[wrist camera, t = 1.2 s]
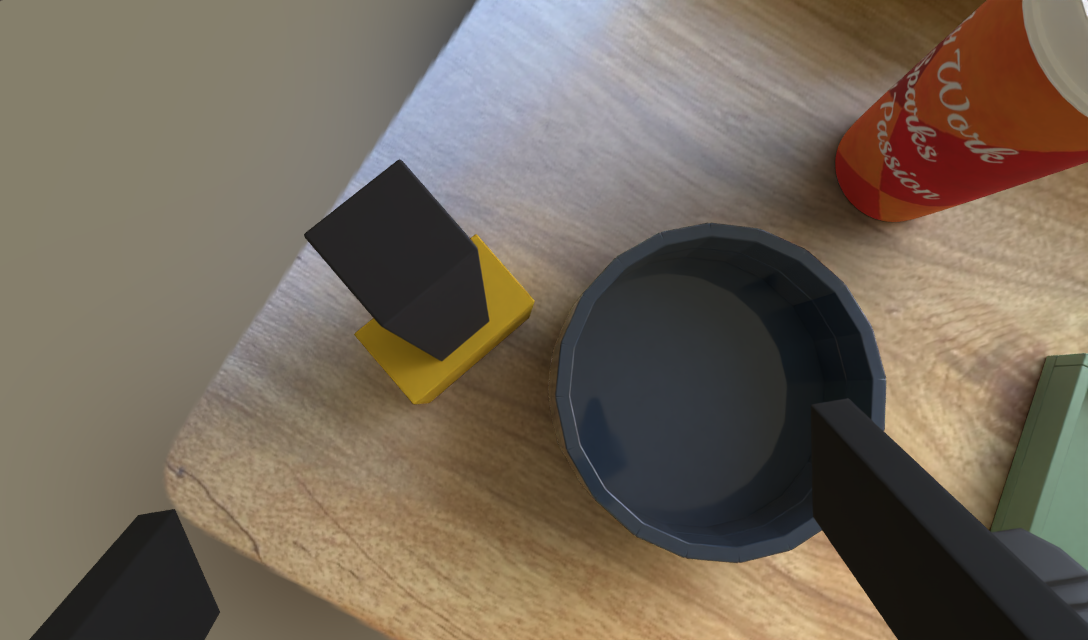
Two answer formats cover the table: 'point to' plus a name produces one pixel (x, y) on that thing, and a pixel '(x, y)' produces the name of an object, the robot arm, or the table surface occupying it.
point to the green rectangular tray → (1052, 461)
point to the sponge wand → (419, 283)
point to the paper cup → (975, 113)
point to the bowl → (709, 388)
